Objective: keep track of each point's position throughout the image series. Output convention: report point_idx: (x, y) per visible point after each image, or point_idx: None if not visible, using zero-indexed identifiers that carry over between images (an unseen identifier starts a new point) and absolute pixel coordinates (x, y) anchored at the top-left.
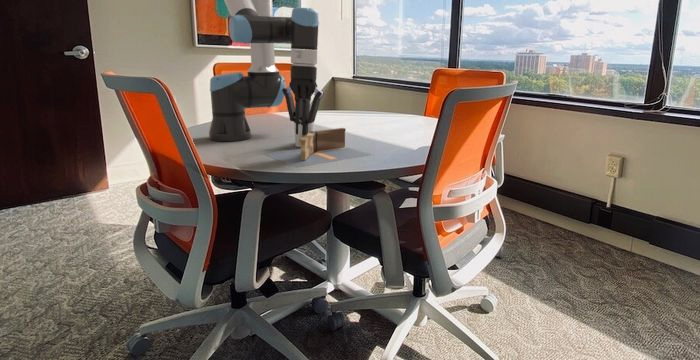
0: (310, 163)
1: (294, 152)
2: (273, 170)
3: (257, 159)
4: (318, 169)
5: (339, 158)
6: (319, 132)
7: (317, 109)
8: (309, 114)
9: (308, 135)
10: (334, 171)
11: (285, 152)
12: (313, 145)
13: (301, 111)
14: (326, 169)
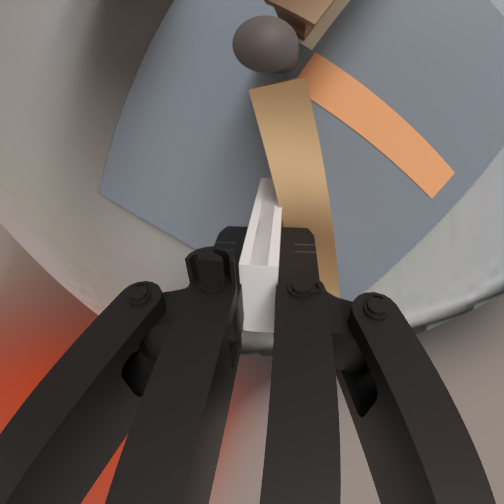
0: (362, 273)
1: (192, 109)
2: (268, 336)
3: (134, 248)
4: (398, 302)
5: (460, 168)
6: (326, 10)
7: (463, 435)
8: (360, 426)
9: (313, 212)
10: (443, 305)
11: (154, 130)
12: (292, 67)
13: (212, 412)
14: (422, 296)
